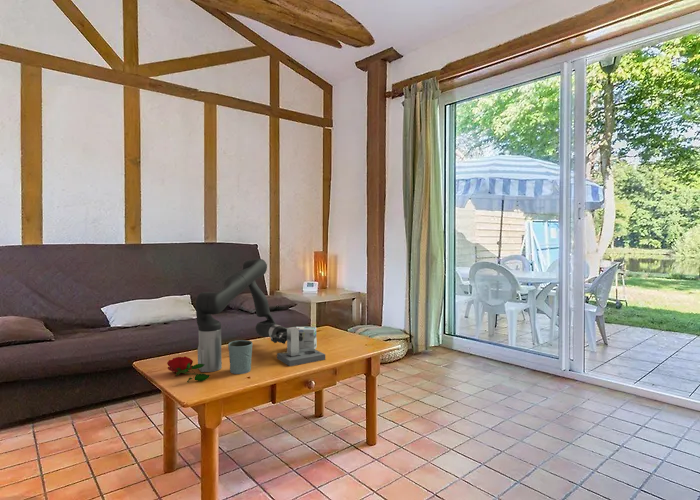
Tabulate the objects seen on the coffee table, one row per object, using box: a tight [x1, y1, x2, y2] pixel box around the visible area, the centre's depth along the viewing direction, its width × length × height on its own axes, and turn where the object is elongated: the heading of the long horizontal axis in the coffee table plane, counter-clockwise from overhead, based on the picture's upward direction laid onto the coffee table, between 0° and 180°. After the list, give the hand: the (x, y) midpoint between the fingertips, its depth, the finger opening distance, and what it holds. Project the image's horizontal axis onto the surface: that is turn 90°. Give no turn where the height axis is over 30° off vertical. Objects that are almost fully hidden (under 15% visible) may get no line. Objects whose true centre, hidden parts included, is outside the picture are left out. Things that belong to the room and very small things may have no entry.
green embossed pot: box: [227, 339, 253, 375], centre depth 181 cm, size 10×10×12 cm
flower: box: [166, 356, 211, 383], centre depth 171 cm, size 9×9×30 cm
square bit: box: [286, 326, 299, 358], centre depth 196 cm, size 4×4×15 cm
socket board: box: [276, 348, 326, 367], centre depth 198 cm, size 18×14×3 cm
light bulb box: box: [295, 326, 318, 350], centre depth 216 cm, size 11×7×11 cm, turn 84°
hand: (293, 340), depth 195 cm, fingers open, 8 cm apart
